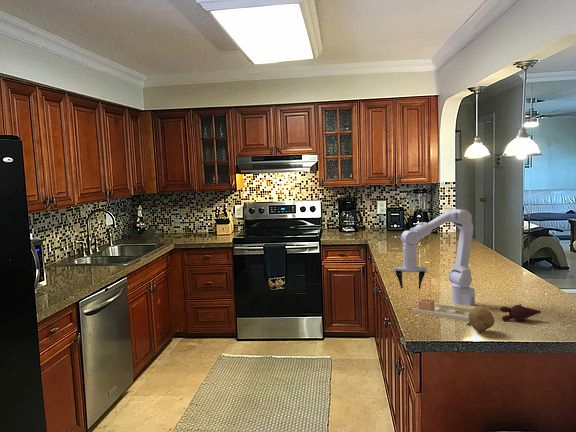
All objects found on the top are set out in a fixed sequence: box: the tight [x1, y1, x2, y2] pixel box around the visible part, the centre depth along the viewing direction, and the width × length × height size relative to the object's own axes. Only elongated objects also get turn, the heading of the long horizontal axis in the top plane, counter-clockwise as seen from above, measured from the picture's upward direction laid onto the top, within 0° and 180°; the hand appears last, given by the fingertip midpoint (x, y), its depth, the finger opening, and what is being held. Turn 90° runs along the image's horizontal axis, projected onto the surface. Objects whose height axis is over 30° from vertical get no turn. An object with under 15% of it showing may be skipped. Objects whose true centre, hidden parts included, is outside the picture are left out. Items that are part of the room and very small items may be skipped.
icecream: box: [499, 303, 542, 322], centre depth 195 cm, size 7×7×15 cm
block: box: [417, 298, 436, 311], centre depth 208 cm, size 5×5×4 cm
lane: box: [411, 302, 473, 327], centre depth 204 cm, size 26×13×4 cm, turn 49°
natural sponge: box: [469, 305, 495, 333], centre depth 183 cm, size 9×9×10 cm
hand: (410, 288), depth 213 cm, fingers open, 7 cm apart
